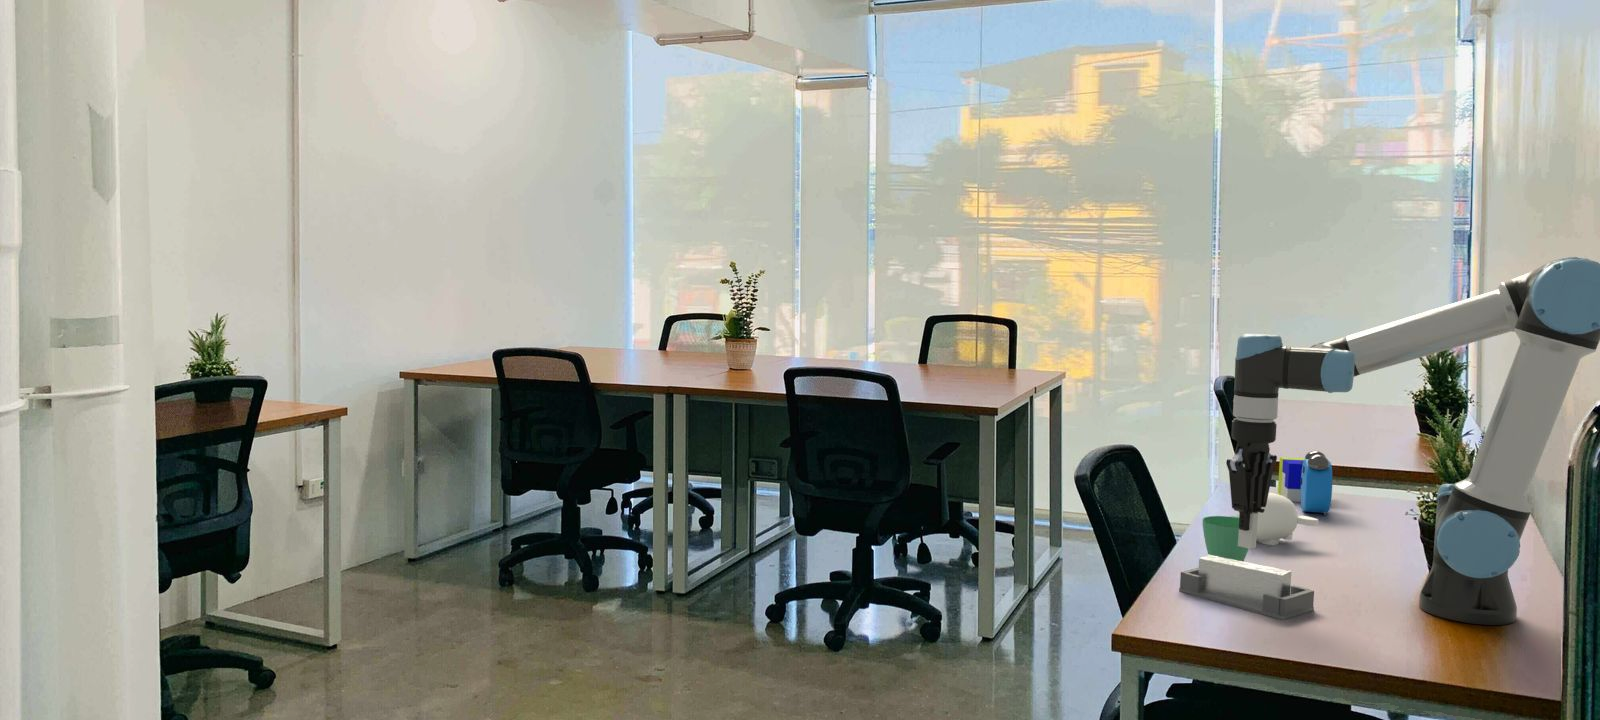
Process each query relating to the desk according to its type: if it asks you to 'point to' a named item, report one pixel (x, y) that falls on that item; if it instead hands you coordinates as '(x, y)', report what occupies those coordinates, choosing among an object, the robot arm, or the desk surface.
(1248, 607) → the end caps
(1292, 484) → the puzzle toy
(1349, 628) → the desk surface
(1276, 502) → the piggy bank
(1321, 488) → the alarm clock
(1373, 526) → the desk surface
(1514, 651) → the desk surface
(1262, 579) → the white rectangular block
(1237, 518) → the mug
